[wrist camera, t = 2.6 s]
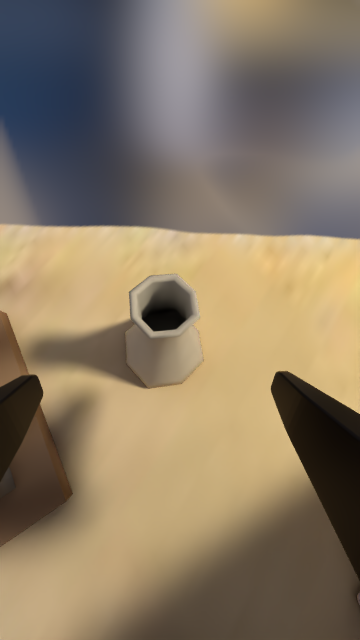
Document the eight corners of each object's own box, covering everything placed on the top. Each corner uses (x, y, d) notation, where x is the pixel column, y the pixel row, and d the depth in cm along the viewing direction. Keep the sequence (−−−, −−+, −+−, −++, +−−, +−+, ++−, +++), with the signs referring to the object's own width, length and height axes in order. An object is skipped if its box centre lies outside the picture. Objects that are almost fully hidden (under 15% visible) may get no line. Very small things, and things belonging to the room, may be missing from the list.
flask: (143, 403, 16) (114, 426, 7) (113, 329, 18) (58, 267, 9) (216, 365, 18) (274, 341, 8) (181, 300, 20) (197, 221, 10)
